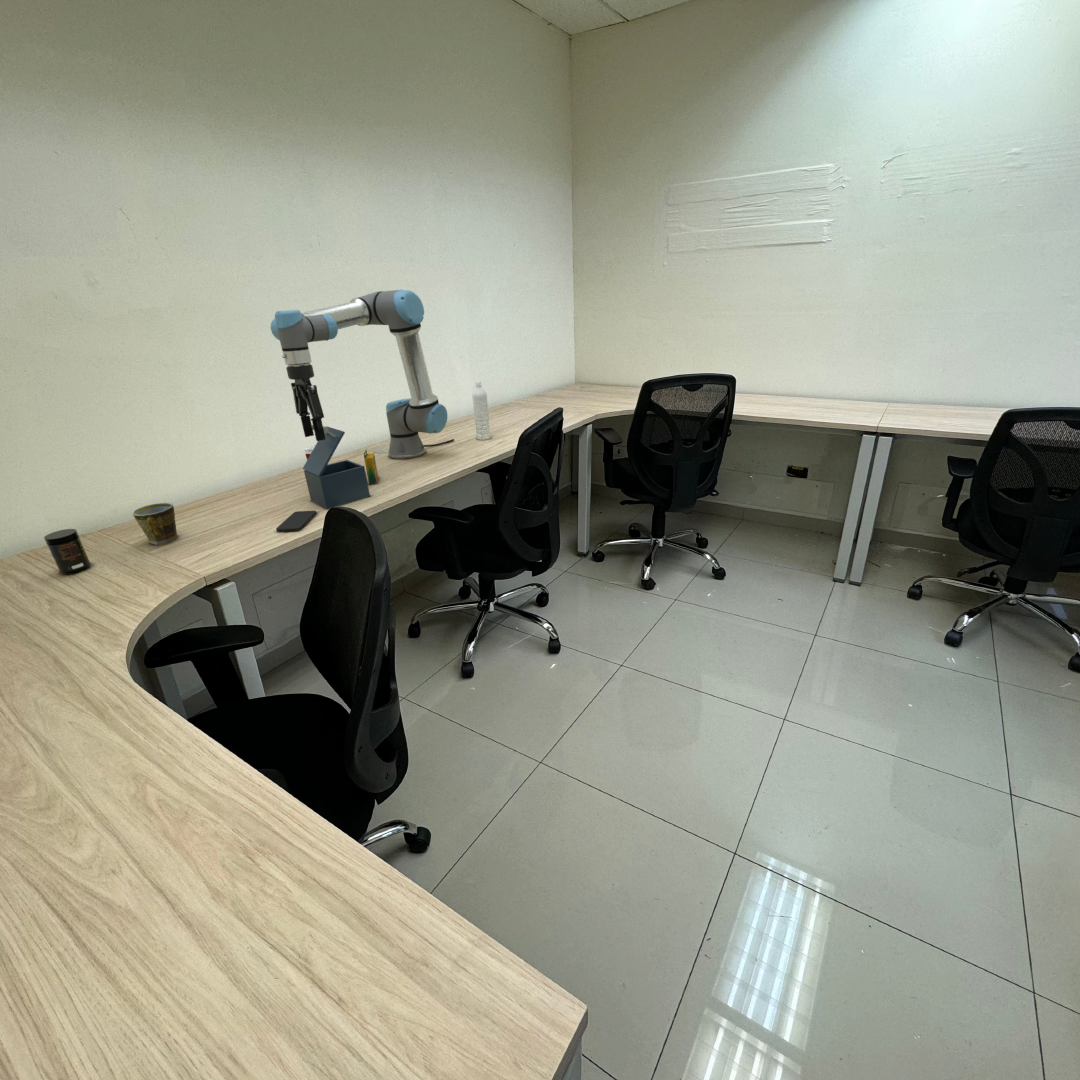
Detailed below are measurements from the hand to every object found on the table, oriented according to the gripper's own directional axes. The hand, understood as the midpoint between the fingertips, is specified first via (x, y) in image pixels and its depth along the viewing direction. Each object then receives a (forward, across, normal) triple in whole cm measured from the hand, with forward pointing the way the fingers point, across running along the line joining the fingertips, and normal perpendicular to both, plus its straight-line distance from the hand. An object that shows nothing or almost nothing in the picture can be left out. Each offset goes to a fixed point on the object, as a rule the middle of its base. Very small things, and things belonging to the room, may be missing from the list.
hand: (315, 438), depth 178 cm
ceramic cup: (+22, -7, -48) cm, 53 cm away
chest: (+22, 0, +4) cm, 22 cm away
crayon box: (+22, -8, +21) cm, 32 cm away
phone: (+22, +10, -15) cm, 28 cm away
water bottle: (+22, -25, +87) cm, 93 cm away
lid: (+5, 0, +2) cm, 5 cm away
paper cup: (+22, -21, +7) cm, 31 cm away
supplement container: (+22, -5, -69) cm, 73 cm away
